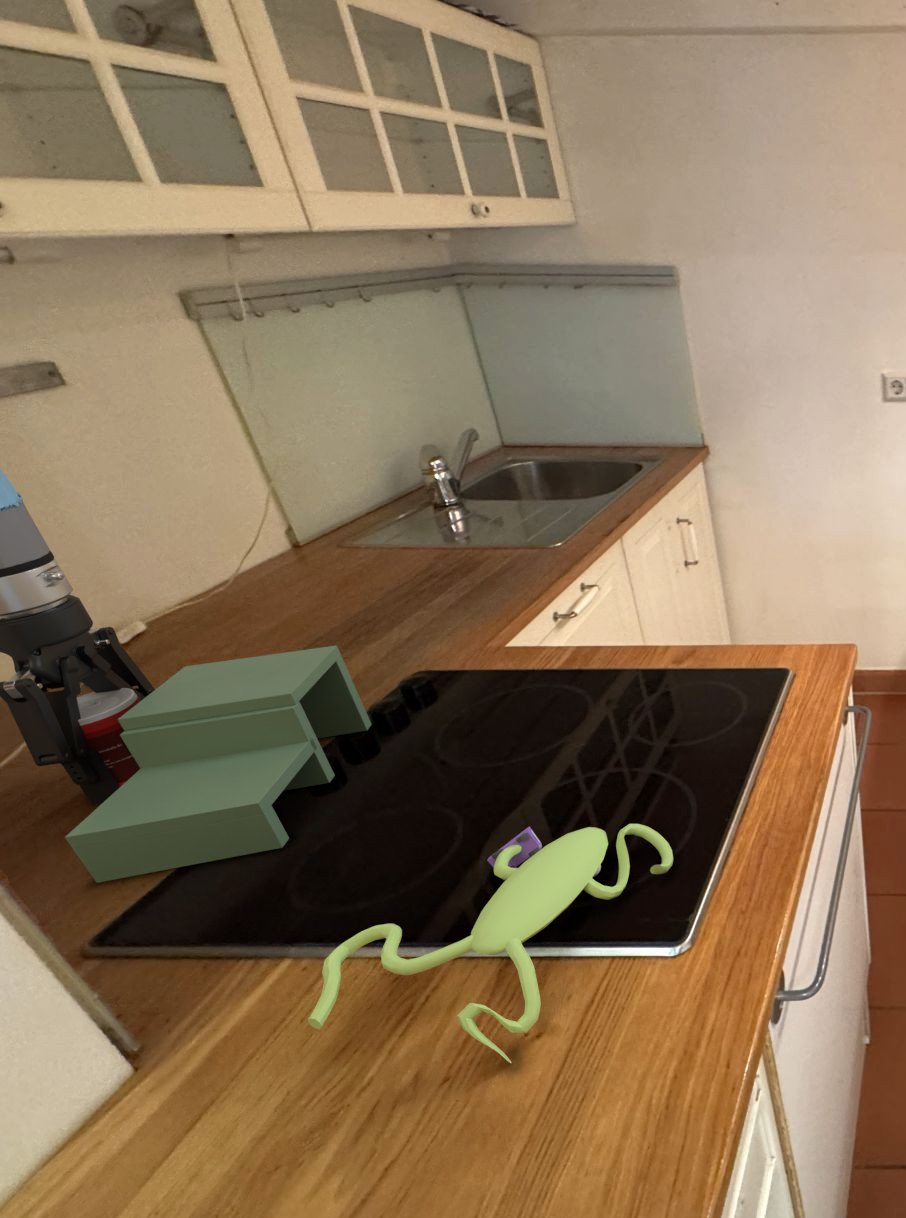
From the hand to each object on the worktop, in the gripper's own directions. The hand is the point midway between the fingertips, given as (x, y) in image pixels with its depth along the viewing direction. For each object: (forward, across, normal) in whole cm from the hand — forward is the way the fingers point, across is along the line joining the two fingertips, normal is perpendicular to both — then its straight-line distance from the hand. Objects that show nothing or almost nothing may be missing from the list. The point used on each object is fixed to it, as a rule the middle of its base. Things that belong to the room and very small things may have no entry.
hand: (133, 777), depth 91 cm
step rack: (+1, -7, -15) cm, 17 cm away
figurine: (+1, -40, -50) cm, 64 cm away
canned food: (+1, 0, 0) cm, 1 cm away
